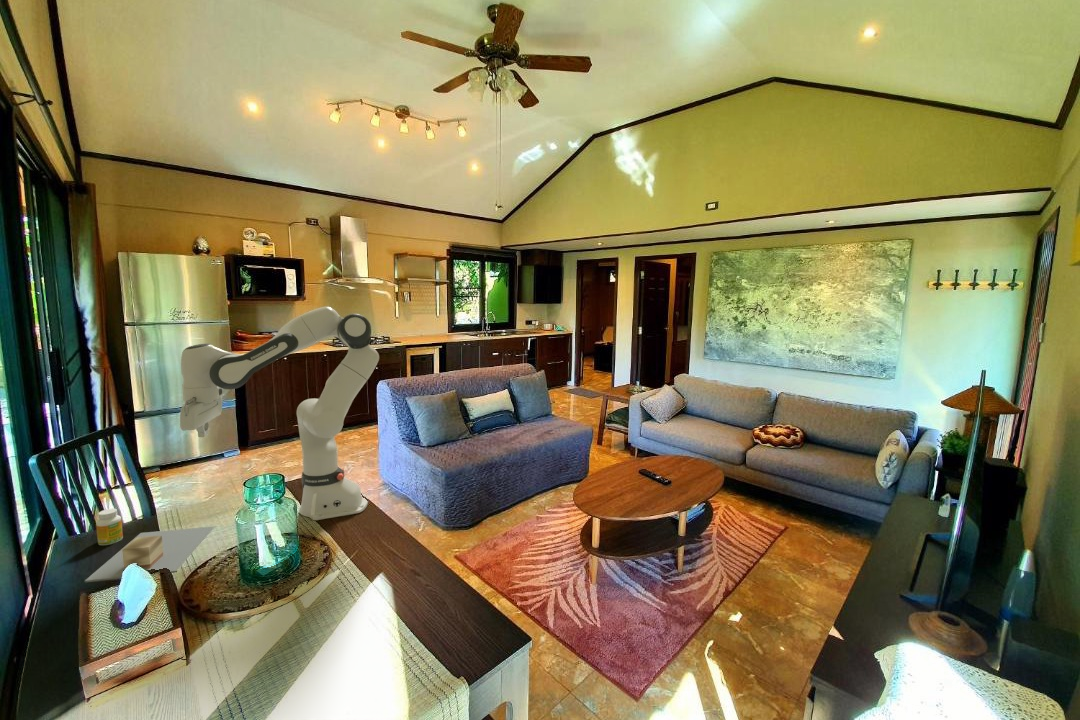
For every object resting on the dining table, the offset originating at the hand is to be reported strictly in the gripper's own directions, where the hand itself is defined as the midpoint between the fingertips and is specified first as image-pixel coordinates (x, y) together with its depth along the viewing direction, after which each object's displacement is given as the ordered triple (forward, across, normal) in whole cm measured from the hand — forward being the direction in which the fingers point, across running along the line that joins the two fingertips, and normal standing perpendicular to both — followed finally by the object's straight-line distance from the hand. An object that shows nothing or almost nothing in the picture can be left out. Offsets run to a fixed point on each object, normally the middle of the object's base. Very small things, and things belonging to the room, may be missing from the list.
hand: (203, 435), depth 142 cm
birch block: (+23, -24, +6) cm, 33 cm away
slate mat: (+29, -18, +6) cm, 35 cm away
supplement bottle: (+29, -9, +22) cm, 38 cm away
